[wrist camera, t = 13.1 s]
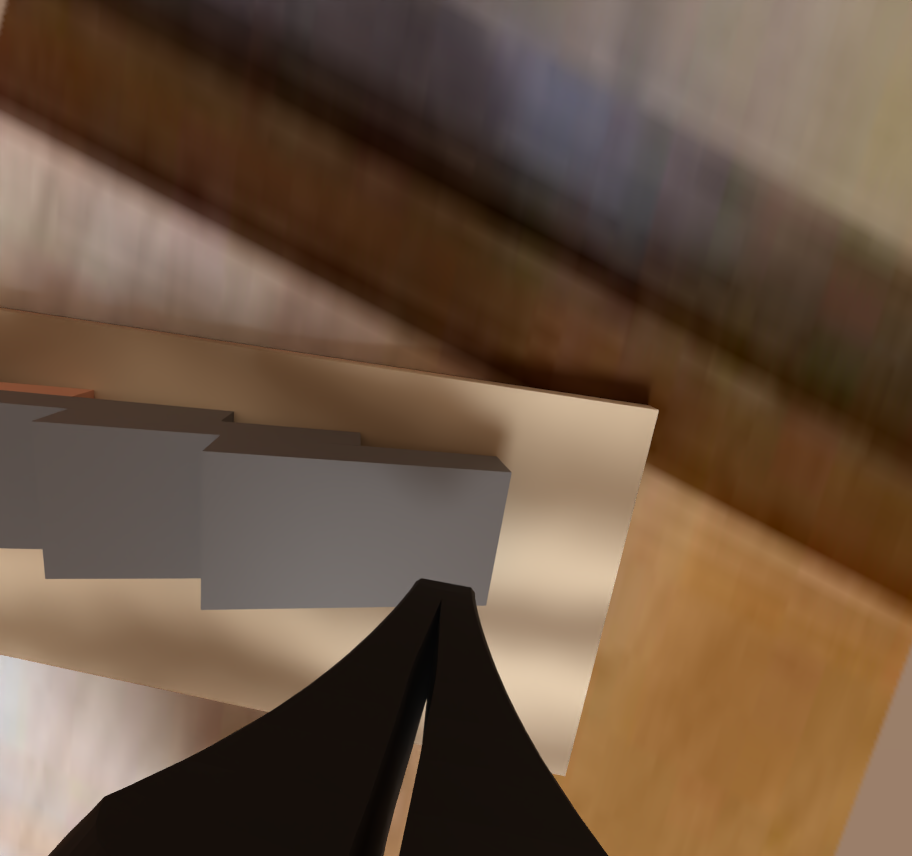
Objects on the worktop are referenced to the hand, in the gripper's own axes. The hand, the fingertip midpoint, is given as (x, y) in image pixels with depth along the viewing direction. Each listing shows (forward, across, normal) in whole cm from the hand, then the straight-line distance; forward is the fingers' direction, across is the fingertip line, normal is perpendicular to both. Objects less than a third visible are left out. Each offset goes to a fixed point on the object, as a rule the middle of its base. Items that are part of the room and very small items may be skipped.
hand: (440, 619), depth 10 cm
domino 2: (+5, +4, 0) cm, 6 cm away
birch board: (+7, +9, +3) cm, 12 cm away
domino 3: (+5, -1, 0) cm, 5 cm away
